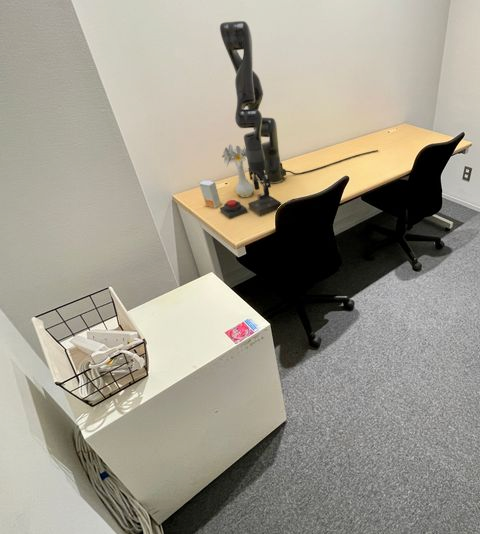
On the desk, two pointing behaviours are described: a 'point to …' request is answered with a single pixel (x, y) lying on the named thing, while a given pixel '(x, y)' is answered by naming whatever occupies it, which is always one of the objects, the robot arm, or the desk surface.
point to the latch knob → (263, 199)
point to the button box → (233, 210)
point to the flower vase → (239, 169)
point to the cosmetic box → (210, 193)
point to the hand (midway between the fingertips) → (262, 192)
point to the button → (231, 203)
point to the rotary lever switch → (264, 206)
